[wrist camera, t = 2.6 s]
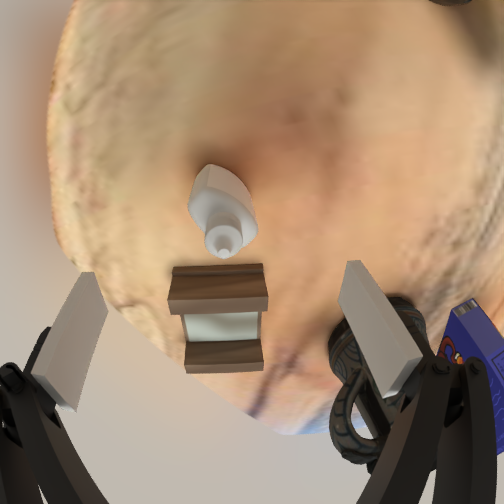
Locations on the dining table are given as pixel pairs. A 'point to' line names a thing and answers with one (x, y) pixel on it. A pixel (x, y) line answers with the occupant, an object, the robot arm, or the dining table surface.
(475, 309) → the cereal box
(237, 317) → the u rest
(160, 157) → the dining table surface
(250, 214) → the eye dropper bottle
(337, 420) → the beer stein
